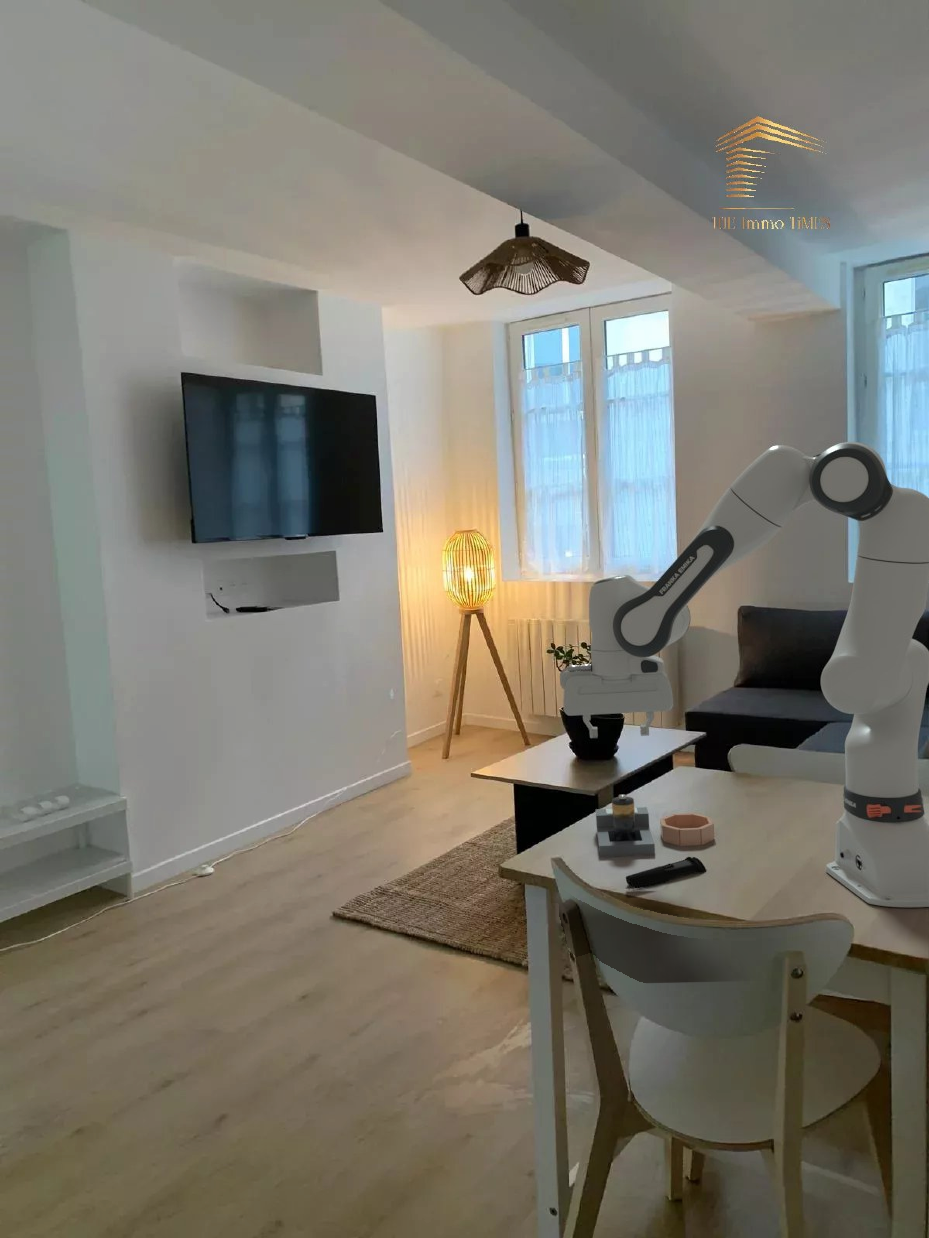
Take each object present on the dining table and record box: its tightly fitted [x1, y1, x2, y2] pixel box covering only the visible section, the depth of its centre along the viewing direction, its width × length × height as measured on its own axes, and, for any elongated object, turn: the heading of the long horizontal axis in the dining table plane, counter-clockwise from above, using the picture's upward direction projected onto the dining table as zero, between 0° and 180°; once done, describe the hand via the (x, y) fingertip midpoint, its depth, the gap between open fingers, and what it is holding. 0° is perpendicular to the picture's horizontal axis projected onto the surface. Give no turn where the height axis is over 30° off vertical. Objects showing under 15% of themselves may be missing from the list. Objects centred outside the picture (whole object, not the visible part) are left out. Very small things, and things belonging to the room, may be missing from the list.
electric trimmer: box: [625, 856, 707, 889], centre depth 160 cm, size 4×16×3 cm, turn 115°
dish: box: [659, 812, 715, 847], centre depth 180 cm, size 10×10×4 cm
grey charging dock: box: [595, 806, 656, 858], centre depth 179 cm, size 14×10×5 cm
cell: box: [611, 794, 636, 842], centre depth 177 cm, size 4×4×10 cm
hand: (619, 736), depth 175 cm, fingers open, 8 cm apart
